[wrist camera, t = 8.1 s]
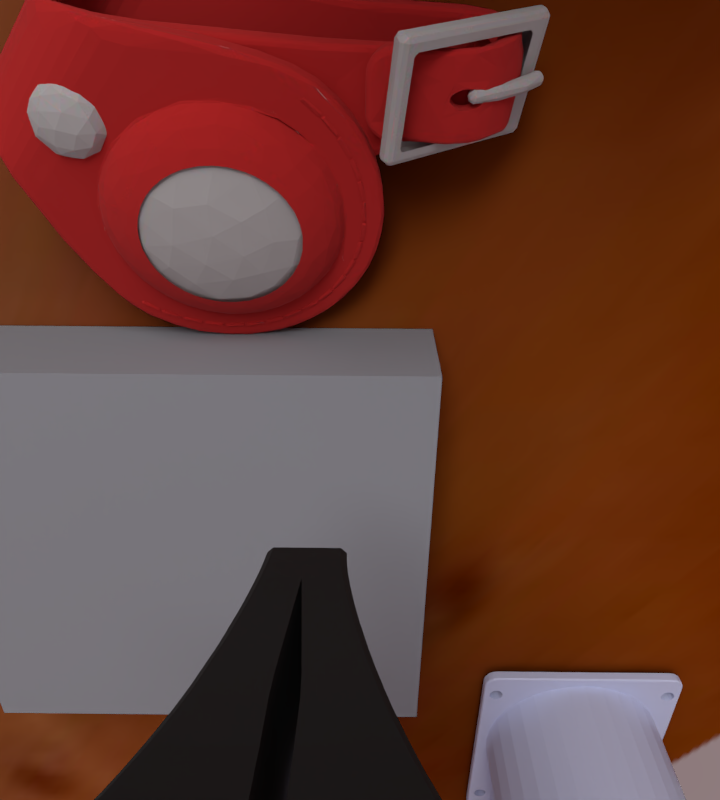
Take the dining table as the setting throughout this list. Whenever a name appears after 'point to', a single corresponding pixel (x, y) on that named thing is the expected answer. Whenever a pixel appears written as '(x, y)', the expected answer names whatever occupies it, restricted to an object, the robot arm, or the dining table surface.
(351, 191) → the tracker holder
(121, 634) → the block
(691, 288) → the dining table surface
